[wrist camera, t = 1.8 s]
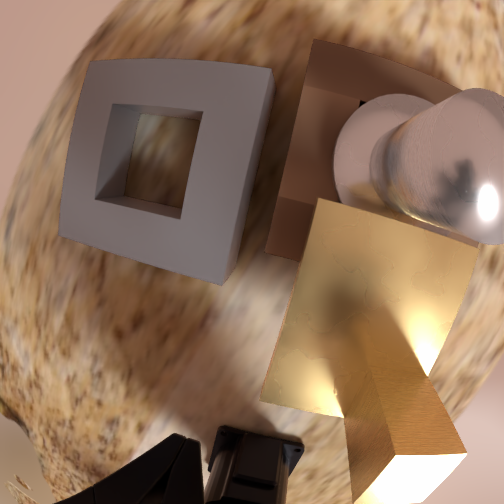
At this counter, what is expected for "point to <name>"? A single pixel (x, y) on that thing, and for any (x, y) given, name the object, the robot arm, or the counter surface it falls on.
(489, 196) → the steel pin
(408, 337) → the brass key
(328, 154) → the walnut socket block
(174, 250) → the grey square collar
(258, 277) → the counter surface
